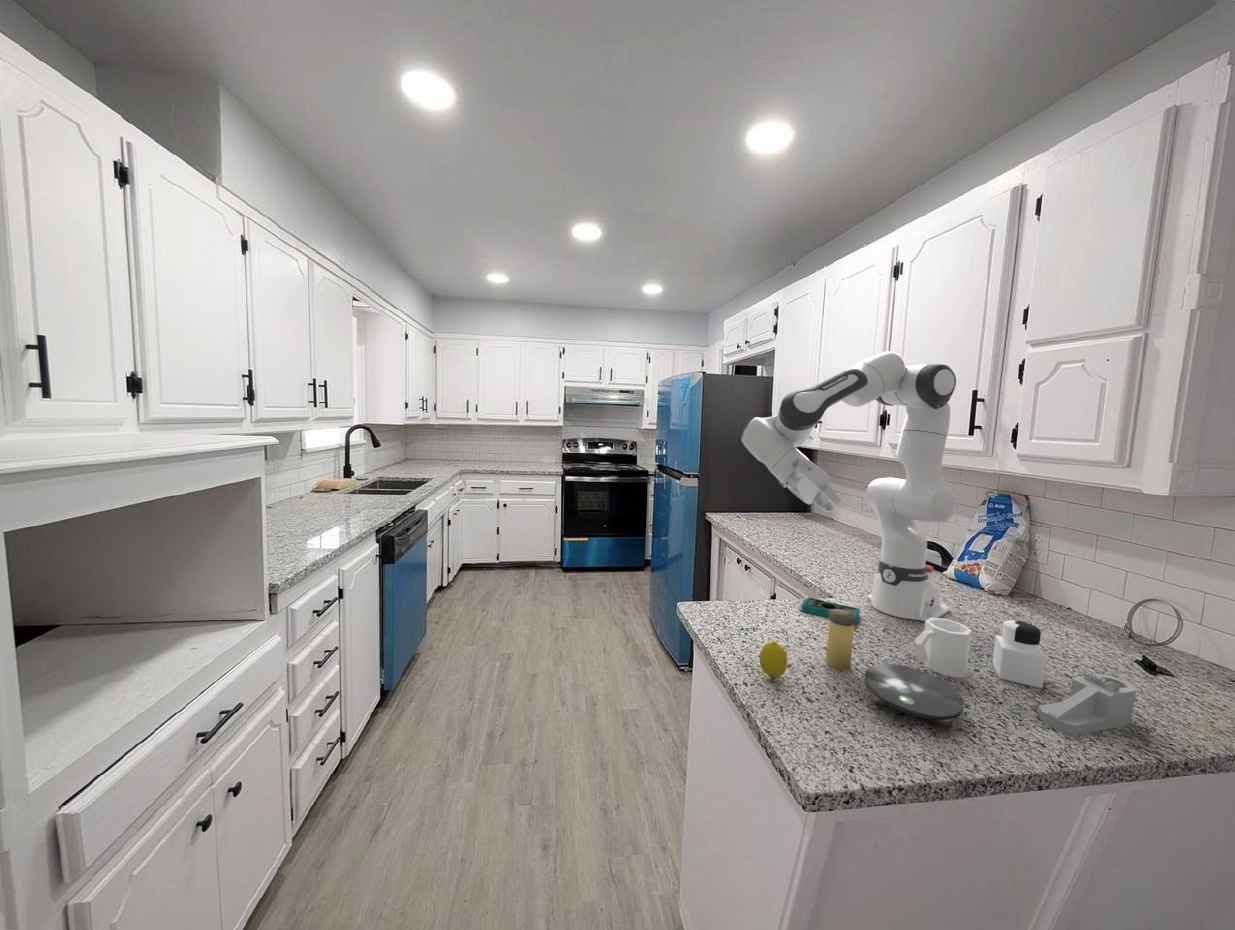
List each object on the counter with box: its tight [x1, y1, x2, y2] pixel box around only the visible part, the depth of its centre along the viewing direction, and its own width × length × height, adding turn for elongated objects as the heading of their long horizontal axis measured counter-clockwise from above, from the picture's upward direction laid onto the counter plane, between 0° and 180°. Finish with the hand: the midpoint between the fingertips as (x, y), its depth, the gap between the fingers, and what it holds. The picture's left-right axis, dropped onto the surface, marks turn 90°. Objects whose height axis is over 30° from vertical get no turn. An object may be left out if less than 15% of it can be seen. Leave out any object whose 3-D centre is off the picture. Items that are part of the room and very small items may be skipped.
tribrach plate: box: [864, 663, 965, 730], centre depth 86 cm, size 16×16×4 cm
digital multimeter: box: [801, 596, 860, 625], centre depth 127 cm, size 7×15×3 cm, turn 55°
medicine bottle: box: [992, 619, 1047, 689], centre depth 97 cm, size 7×7×12 cm
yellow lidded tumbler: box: [825, 609, 856, 671], centre depth 100 cm, size 5×5×12 cm
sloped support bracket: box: [1037, 672, 1137, 736], centre depth 83 cm, size 6×18×8 cm, turn 103°
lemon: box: [759, 641, 788, 679], centre depth 94 cm, size 6×6×8 cm
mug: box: [913, 617, 973, 679], centre depth 99 cm, size 12×9×10 cm
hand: (834, 507), depth 108 cm, fingers open, 8 cm apart
